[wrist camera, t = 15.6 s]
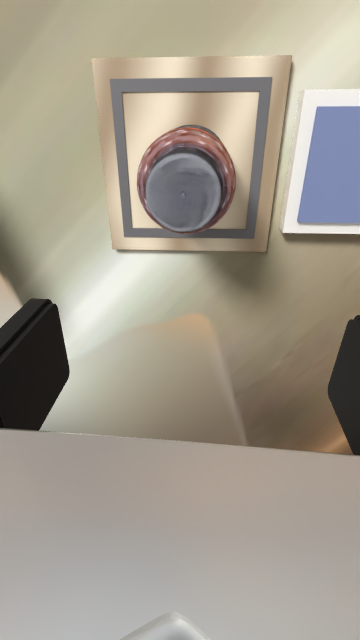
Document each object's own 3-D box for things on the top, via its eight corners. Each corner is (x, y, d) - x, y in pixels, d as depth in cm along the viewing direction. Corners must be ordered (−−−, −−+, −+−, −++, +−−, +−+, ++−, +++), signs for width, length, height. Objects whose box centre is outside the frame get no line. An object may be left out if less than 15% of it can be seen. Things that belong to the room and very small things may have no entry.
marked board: (290, 56, 24) (292, 55, 23) (265, 249, 31) (266, 252, 30) (93, 59, 24) (90, 58, 24) (114, 247, 32) (112, 249, 31)
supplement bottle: (145, 135, 26) (109, 144, 16) (221, 115, 25) (231, 111, 15) (164, 212, 29) (143, 258, 19) (233, 197, 28) (248, 237, 18)
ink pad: (442, 89, 24) (459, 87, 22) (396, 229, 29) (407, 236, 27) (299, 91, 25) (306, 89, 23) (279, 227, 30) (283, 234, 28)
